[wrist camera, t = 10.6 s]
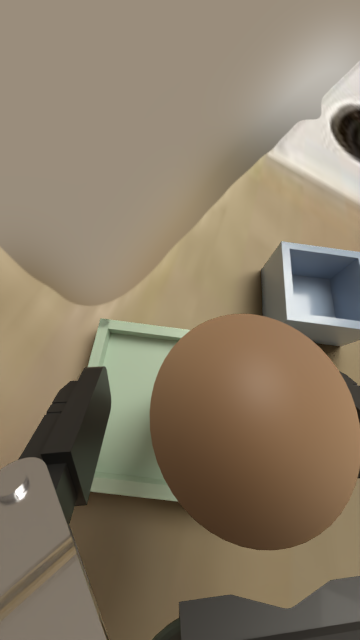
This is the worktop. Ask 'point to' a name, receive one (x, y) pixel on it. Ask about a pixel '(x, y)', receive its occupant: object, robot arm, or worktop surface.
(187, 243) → the worktop surface
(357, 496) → the worktop surface
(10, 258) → the worktop surface
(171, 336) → the tray
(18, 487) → the robot arm
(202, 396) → the dowel
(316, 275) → the pale blue open box
